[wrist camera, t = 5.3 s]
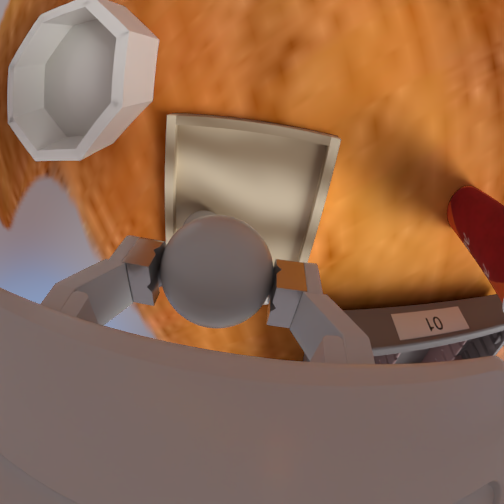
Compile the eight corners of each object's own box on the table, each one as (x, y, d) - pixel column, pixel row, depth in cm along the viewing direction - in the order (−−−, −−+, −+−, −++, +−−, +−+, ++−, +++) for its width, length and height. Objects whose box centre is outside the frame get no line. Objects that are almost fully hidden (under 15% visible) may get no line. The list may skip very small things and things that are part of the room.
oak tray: (173, 112, 21) (167, 115, 19) (336, 135, 21) (340, 139, 20) (172, 276, 31) (168, 284, 30) (293, 294, 31) (293, 304, 30)
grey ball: (188, 200, 25) (175, 220, 21) (231, 206, 25) (224, 227, 22) (187, 236, 27) (176, 260, 24) (227, 242, 27) (220, 267, 24)
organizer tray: (497, 283, 29) (526, 329, 21) (414, 404, 51) (421, 437, 43) (302, 298, 32) (309, 371, 23) (289, 419, 54) (288, 458, 46)
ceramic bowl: (48, 28, 14) (13, 28, 9) (166, 0, 14) (139, -17, 10) (44, 145, 22) (11, 162, 17) (150, 144, 22) (122, 161, 18)
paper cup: (431, 237, 25) (495, 332, 14) (447, 171, 21) (540, 250, 10) (477, 238, 25) (538, 319, 13) (494, 181, 21) (574, 250, 9)
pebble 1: (178, 190, 10) (135, 249, 7) (282, 204, 10) (286, 272, 7) (178, 270, 12) (152, 339, 9) (264, 283, 13) (261, 357, 9)
